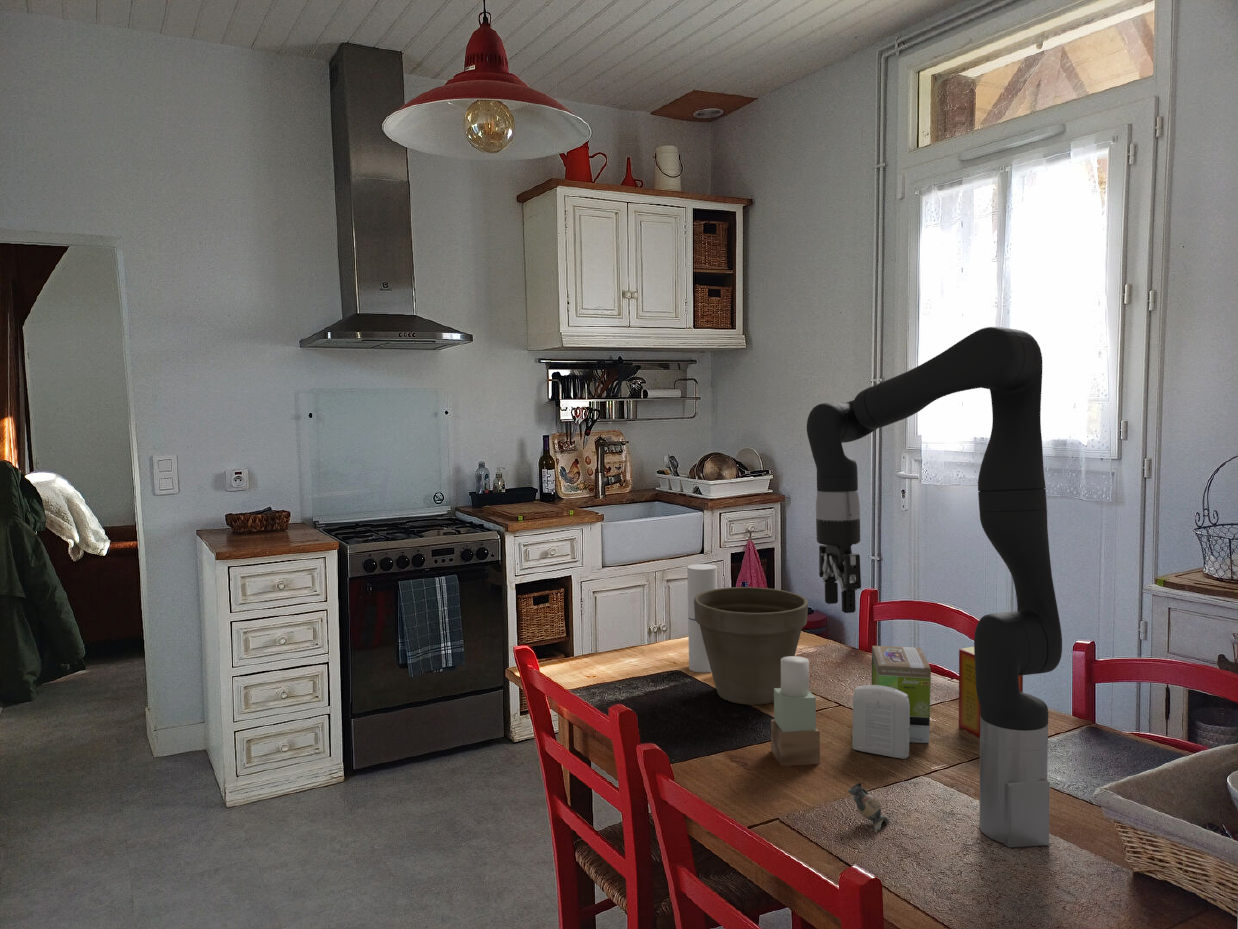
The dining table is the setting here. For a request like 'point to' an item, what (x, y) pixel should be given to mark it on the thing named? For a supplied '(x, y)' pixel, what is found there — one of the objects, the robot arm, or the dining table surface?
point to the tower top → (794, 712)
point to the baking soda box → (970, 692)
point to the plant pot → (749, 638)
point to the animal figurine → (868, 806)
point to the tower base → (795, 746)
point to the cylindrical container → (698, 582)
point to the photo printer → (881, 721)
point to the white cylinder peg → (794, 676)
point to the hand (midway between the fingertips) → (839, 607)
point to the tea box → (906, 683)
